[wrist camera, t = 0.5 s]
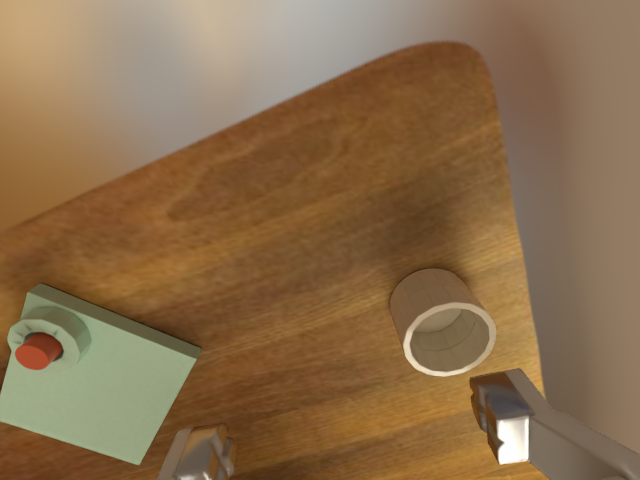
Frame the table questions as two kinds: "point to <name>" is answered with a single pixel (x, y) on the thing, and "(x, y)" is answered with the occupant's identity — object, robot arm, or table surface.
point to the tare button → (38, 351)
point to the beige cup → (441, 323)
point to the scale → (93, 376)
